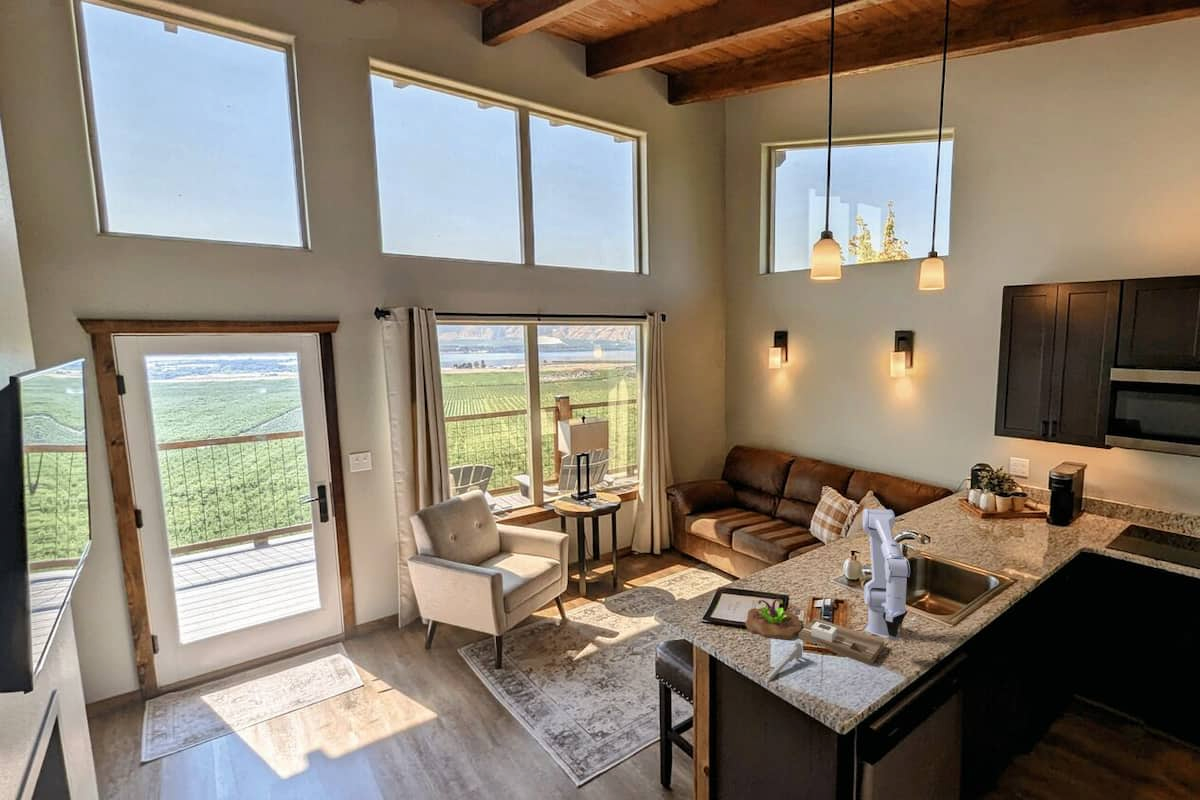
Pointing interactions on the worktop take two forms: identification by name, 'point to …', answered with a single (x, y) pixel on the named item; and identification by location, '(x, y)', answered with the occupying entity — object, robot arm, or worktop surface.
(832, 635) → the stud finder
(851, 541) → the worktop surface
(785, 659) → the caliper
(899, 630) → the peg
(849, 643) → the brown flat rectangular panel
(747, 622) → the plant
